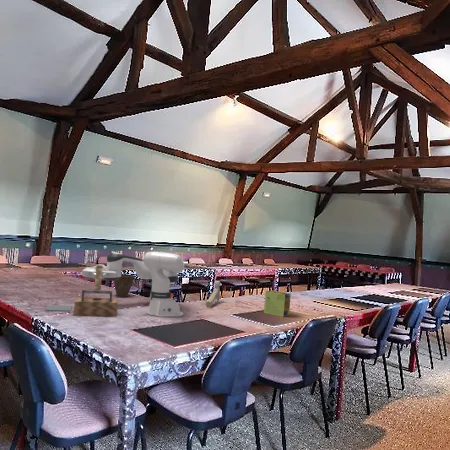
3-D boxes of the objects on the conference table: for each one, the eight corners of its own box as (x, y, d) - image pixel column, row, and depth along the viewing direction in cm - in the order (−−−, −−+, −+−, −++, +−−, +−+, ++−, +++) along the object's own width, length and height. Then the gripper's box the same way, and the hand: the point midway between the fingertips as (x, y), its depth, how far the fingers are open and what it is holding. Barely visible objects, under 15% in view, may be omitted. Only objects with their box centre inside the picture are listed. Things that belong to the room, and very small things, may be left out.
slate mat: (72, 306, 267) (72, 305, 267) (70, 311, 254) (70, 310, 254) (48, 306, 264) (49, 305, 264) (45, 310, 250) (45, 309, 250)
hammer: (212, 294, 299) (220, 280, 328) (205, 294, 300) (214, 280, 329) (211, 315, 303) (220, 299, 332) (205, 314, 304) (214, 299, 332)
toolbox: (116, 311, 264) (118, 288, 264) (116, 316, 251) (118, 292, 251) (76, 310, 258) (78, 286, 258) (73, 315, 245) (75, 290, 245)
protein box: (283, 317, 289) (285, 294, 290) (263, 313, 298) (265, 291, 298) (289, 315, 298) (291, 293, 299) (269, 311, 306) (271, 290, 307)
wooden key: (100, 289, 260) (102, 265, 260) (100, 290, 256) (102, 265, 256) (94, 289, 259) (96, 264, 259) (94, 290, 255) (96, 265, 255)
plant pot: (110, 294, 322) (112, 273, 322) (129, 294, 328) (131, 274, 328) (113, 298, 309) (115, 276, 309) (134, 298, 315) (135, 276, 315)
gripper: (115, 278, 273) (115, 281, 259) (82, 276, 268) (80, 279, 254) (116, 268, 273) (116, 271, 259) (83, 266, 268) (81, 269, 254)
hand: (98, 275), depth 257 cm, fingers closed on wooden key, 4 cm apart
